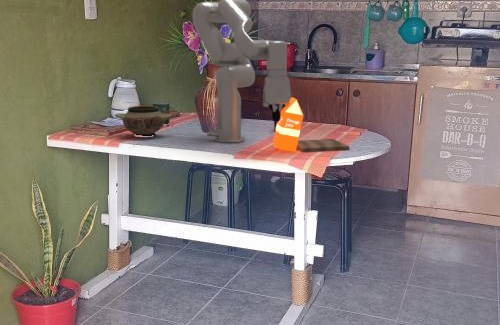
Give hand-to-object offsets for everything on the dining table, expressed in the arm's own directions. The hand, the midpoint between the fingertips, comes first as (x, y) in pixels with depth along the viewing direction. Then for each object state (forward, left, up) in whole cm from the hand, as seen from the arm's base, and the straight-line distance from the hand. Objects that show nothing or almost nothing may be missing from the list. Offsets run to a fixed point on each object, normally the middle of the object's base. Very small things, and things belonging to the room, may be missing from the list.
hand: (276, 121), depth 232 cm
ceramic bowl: (-47, +41, -12) cm, 63 cm away
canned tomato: (-35, +69, -12) cm, 78 cm away
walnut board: (+19, +2, -12) cm, 22 cm away
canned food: (+17, +42, -12) cm, 47 cm away
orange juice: (+3, 0, -11) cm, 12 cm away
